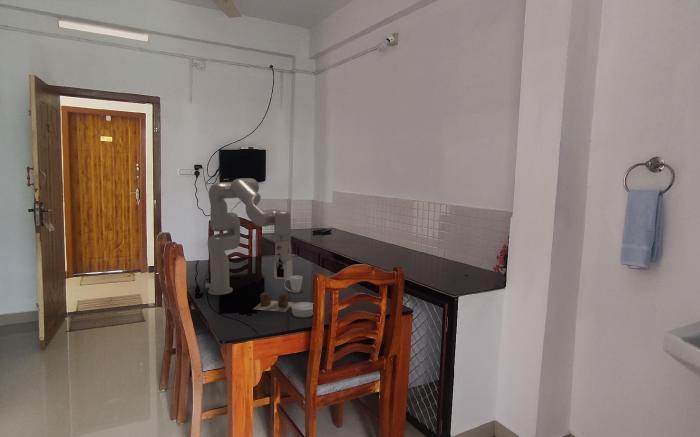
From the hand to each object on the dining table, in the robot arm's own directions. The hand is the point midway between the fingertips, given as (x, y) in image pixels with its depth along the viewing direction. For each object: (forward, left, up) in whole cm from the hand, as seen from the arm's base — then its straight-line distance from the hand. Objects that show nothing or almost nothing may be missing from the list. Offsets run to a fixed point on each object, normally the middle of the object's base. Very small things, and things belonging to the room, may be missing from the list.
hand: (283, 274), depth 202 cm
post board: (-5, 0, -17) cm, 18 cm away
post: (0, 0, -15) cm, 15 cm away
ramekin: (+12, -7, -17) cm, 22 cm away
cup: (-6, +29, -17) cm, 34 cm away
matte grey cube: (0, 0, -1) cm, 1 cm away
